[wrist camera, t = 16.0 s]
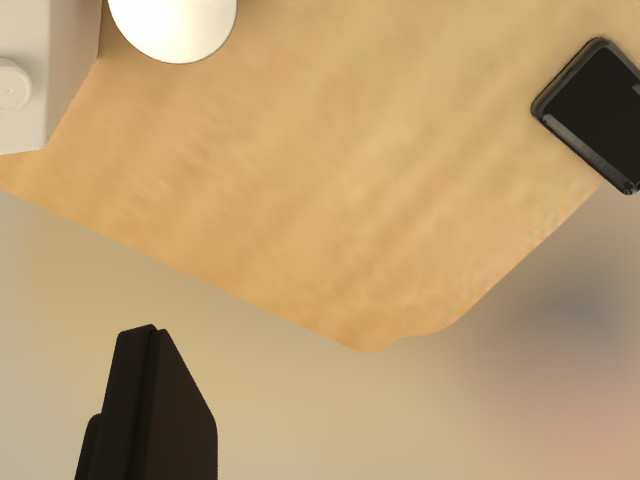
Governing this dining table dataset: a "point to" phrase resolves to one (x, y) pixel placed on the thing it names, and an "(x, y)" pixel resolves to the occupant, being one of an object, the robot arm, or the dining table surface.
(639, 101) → the phone
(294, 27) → the dining table surface
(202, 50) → the sauce tin
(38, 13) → the milk carton
